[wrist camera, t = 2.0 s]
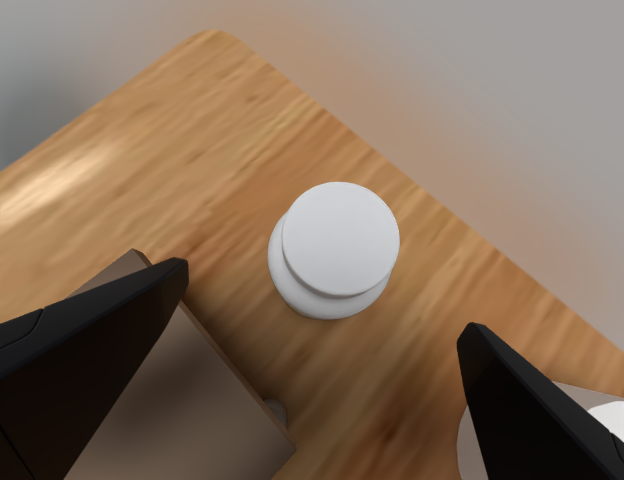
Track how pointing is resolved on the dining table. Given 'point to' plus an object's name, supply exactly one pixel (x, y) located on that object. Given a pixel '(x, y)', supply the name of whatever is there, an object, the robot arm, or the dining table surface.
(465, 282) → the dining table surface
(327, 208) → the supplement bottle
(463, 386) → the robot arm
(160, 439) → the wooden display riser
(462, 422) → the base with upright slab
